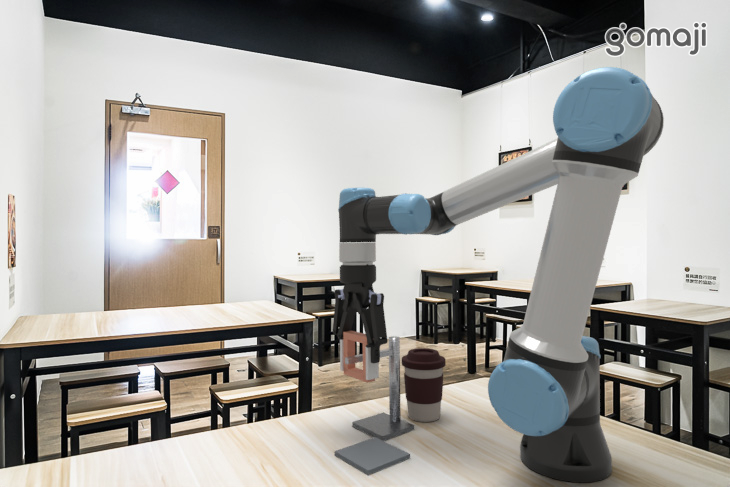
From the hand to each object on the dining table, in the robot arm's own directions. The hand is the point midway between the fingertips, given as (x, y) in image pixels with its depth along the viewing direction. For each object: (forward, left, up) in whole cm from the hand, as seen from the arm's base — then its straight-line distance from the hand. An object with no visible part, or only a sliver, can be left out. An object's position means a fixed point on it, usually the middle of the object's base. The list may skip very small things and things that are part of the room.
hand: (358, 373), depth 99 cm
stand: (0, -4, -13) cm, 13 cm away
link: (0, 0, -1) cm, 1 cm away
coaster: (-9, +4, -13) cm, 16 cm away
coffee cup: (-1, -18, -13) cm, 22 cm away
